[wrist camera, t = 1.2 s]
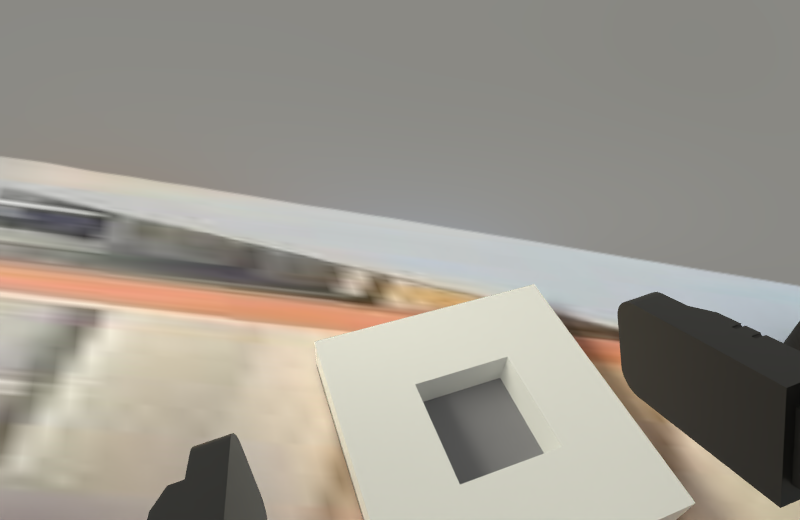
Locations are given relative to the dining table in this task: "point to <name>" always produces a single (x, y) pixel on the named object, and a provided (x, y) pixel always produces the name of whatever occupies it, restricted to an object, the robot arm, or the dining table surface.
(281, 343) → the dining table surface
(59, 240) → the dining table surface
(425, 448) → the white socket block
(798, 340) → the drinking cup
